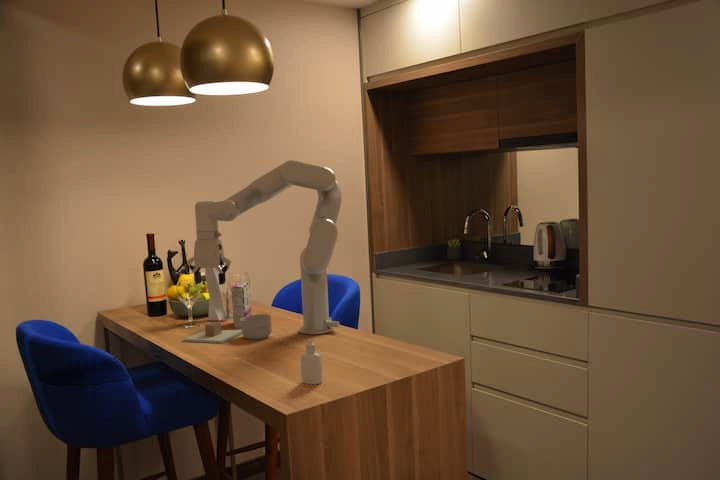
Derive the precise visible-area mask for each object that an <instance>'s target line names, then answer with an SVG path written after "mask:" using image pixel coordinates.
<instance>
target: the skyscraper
mask: <svg viewBox="0 0 720 480" xmlns="http://www.w3.org/2000/svg"><path fill="white" fill-rule="evenodd" d="M204 269H205V270H204V273H205V274H204V275H205V284H206V289H207V292H208V296H209V297H208V298H209V300H208V316H207V317H208V318H207V320H208V322H226V321H228V320H230V319H232V318H233V316H232V314H231V309H232V308H231V306H230V305H231V304H230V302H231V301H230V299H231V298H230V297H229V290H228V287H226V298H225V302H226V309H225V304H224V298H223V290H224V289H223V288H224V284H222V285H220V284H219V275H218V274H219V273H220V272H219V271H218V270H217V268H204ZM225 310H226V311H225Z"/></svg>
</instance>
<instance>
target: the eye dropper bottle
mask: <svg viewBox="0 0 720 480" xmlns="http://www.w3.org/2000/svg"><path fill="white" fill-rule="evenodd" d="M300 373H301V374H300V375H301V382H302V383H303V384H307V385H320V384H321V383H322V382H323V365H322V356H321V354H320V353H318V352H316V345H315V343H313V341H312V339H308V343H307V344H306V345H305V352H304V353H302V354H301V356H300Z"/></svg>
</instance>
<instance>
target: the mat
mask: <svg viewBox="0 0 720 480" xmlns="http://www.w3.org/2000/svg"><path fill="white" fill-rule="evenodd" d="M242 335H243V333H241V334H239V335H237V336H235V337H233V338H231V339H229V340H227V341H225V342H223V343H208V342H187V341H184V339H183V340H181V341H180V343H192V344H210V345H212V344H213V345H214V344H215V345H216V344H217V345H224V344H226V343H228V342H229V341H232V340H233V339H236V338H238V337H240V336H242Z"/></svg>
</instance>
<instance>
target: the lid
mask: <svg viewBox="0 0 720 480" xmlns="http://www.w3.org/2000/svg"><path fill="white" fill-rule="evenodd" d="M241 333H242V330H238V329H237V330H233V329H222V321H210V323H207V324H205V325H204V330H201V331H198V332H197V333H195V334H193V335H190V336H188V337H184V339H183V340H184V341H187V342H186V343H188V342H208V343H207V344H209V343H223V342H225V341H227V340H229V339H231V338H233V337H235V336H237V335H239V334H241Z"/></svg>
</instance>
